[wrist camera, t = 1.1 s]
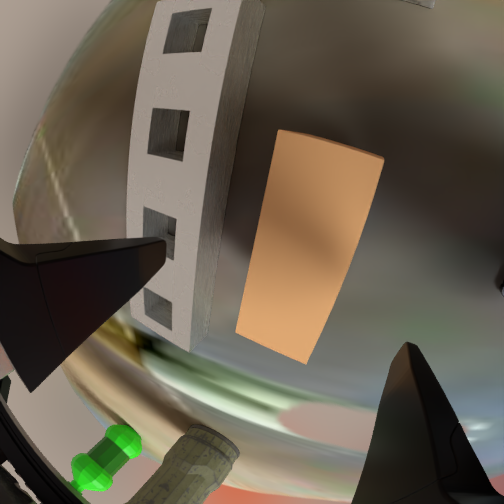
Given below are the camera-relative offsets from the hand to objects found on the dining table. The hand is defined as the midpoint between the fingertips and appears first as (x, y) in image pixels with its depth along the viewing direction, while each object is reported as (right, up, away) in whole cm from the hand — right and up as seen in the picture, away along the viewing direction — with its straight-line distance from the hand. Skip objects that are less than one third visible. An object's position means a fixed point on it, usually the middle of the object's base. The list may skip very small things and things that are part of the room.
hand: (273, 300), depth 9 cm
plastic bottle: (-30, -42, +44) cm, 68 cm away
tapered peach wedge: (+4, +3, +8) cm, 9 cm away
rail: (-5, +7, +11) cm, 14 cm away
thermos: (-6, -27, +26) cm, 38 cm away
